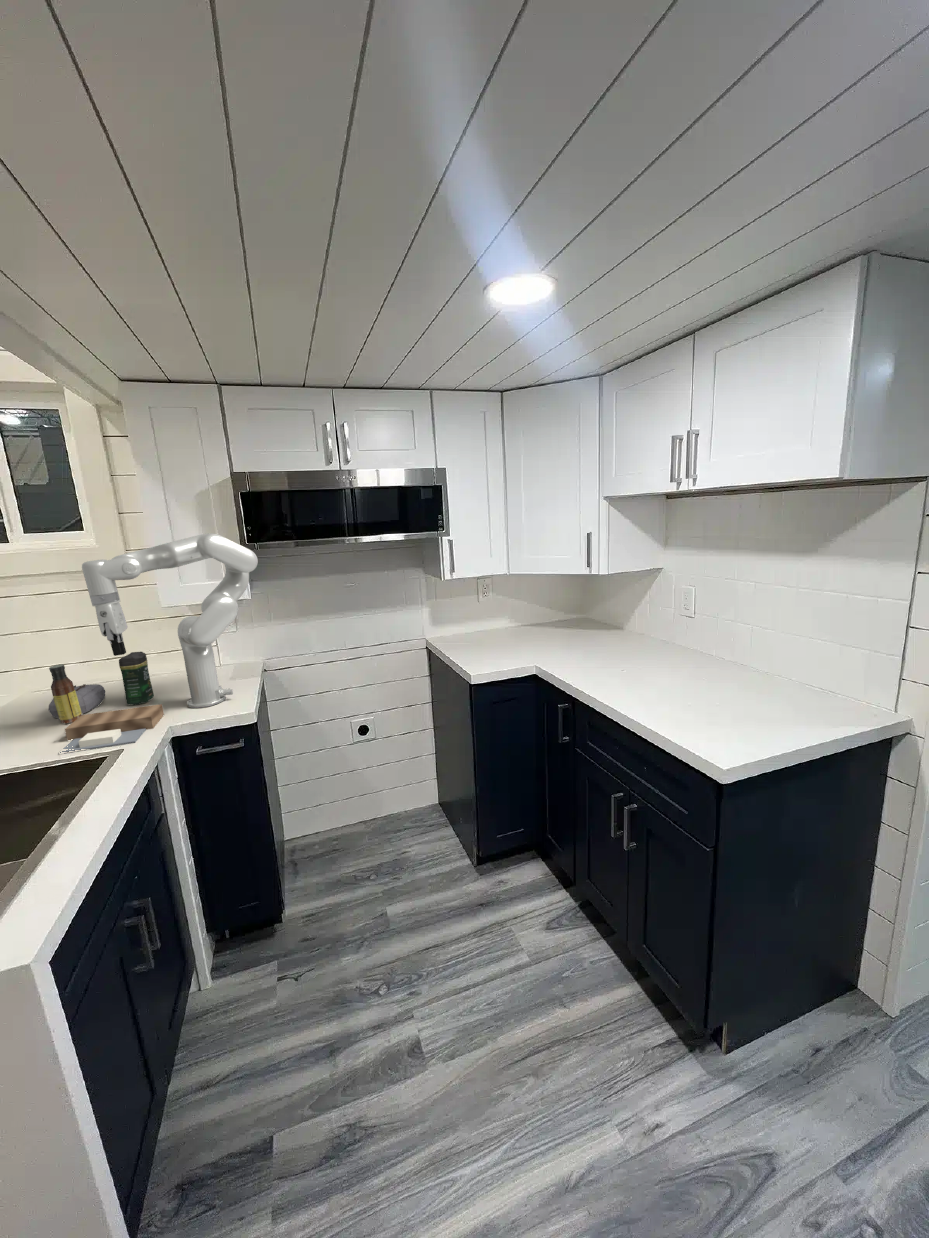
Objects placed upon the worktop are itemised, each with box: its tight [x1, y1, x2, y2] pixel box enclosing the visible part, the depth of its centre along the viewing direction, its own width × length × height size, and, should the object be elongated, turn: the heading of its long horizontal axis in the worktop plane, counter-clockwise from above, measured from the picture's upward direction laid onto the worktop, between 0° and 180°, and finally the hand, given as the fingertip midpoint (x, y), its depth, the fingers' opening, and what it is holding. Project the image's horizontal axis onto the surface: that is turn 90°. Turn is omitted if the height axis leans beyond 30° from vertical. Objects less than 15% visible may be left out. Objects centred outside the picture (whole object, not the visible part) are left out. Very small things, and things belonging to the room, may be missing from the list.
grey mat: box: [59, 728, 147, 753], centre depth 159 cm, size 20×10×1 cm, turn 105°
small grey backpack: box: [48, 683, 106, 719], centre depth 189 cm, size 15×8×20 cm
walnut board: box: [64, 703, 165, 740], centre depth 170 cm, size 24×12×4 cm, turn 105°
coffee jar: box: [118, 651, 155, 706], centre depth 193 cm, size 10×8×19 cm
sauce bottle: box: [48, 664, 83, 725], centre depth 177 cm, size 6×6×20 cm
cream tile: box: [78, 729, 122, 748], centre depth 158 cm, size 9×6×2 cm, turn 103°
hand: (120, 654), depth 169 cm, fingers closed
